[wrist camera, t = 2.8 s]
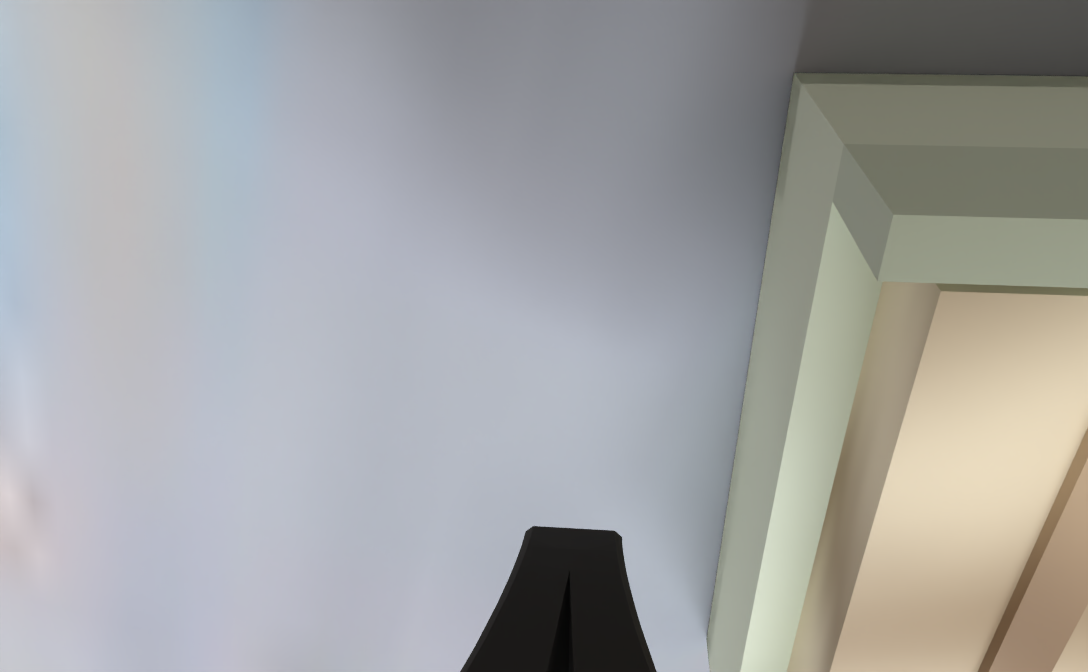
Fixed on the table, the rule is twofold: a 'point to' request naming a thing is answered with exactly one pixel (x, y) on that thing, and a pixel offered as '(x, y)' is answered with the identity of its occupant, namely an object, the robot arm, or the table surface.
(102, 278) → the table surface
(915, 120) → the green tray
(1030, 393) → the cover plate
